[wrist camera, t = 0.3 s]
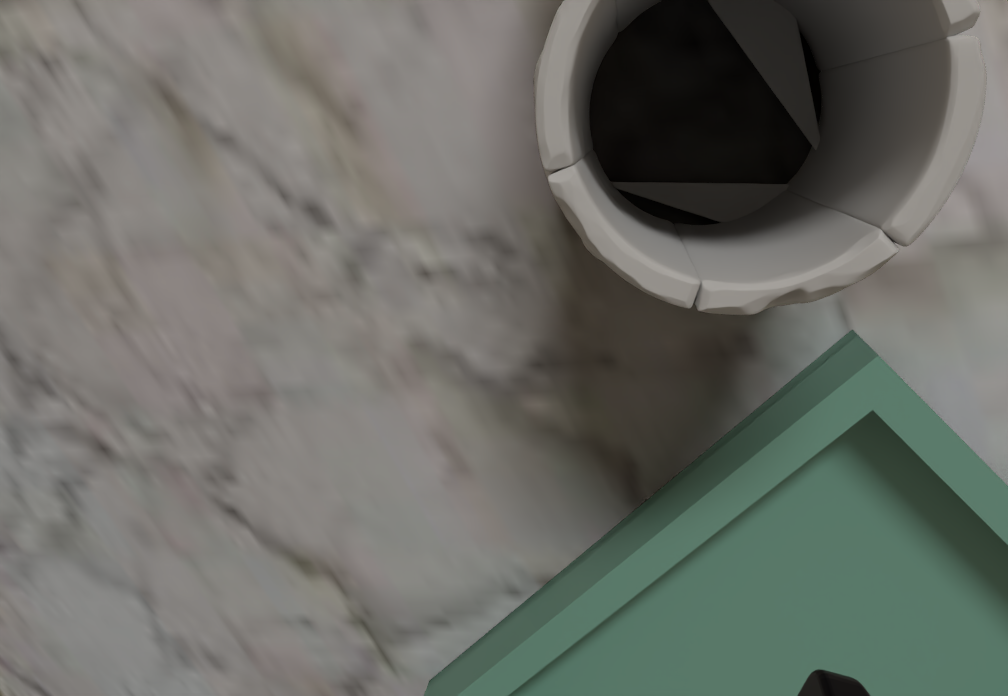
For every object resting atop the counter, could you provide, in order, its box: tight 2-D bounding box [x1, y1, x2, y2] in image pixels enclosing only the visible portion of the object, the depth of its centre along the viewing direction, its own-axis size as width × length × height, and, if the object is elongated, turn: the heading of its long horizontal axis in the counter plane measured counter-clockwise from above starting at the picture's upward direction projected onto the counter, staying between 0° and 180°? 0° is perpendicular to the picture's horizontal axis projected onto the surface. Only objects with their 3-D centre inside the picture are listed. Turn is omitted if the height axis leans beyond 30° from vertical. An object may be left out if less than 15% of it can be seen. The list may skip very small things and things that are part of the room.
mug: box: [533, 0, 987, 315], centre depth 15 cm, size 8×12×12 cm, turn 22°
